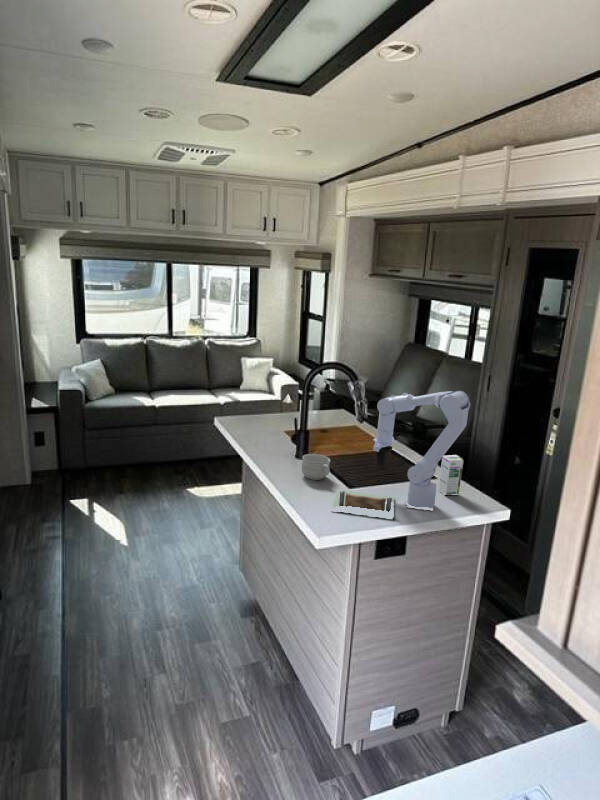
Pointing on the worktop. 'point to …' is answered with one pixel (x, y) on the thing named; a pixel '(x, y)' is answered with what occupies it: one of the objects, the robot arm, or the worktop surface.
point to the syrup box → (450, 474)
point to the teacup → (315, 466)
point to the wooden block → (365, 502)
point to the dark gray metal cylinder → (342, 494)
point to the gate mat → (337, 497)
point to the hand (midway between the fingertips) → (381, 464)
